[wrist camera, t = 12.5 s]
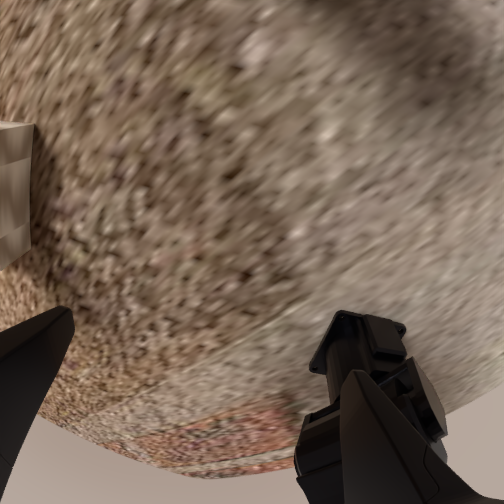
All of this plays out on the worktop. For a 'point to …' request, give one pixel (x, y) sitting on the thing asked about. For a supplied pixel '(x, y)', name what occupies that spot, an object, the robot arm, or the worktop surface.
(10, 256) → the socket block
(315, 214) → the worktop surface
